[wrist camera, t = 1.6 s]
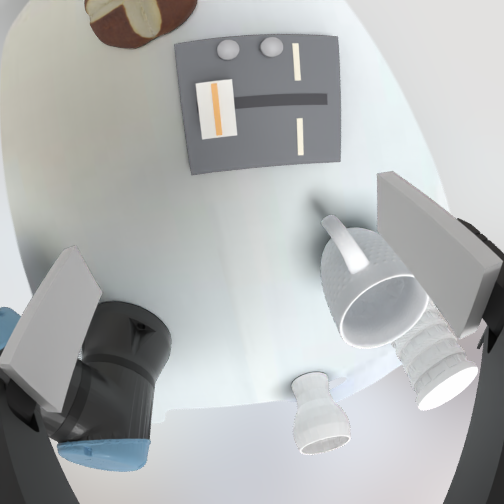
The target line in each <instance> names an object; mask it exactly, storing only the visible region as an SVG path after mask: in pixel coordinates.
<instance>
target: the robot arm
mask: <svg viewBox="0 0 504 504" xmlns="http://www.w3.org/2000/svg"><path fill="white" fill-rule="evenodd" d="M377 231H378V233H379V234H380V235H381V236H382V237H383V238H384V240H385V241H386V242H387V243H388V244H389V246H390V247H391V248H392V249H393V250H394V252H395V253H396V254H397V255H398V257H399V258H400V259H401V260H402V262H403V263H404V264H405V265H406V267H407V268H408V269H409V270H410V272H411V273H412V274H413V276H414V277H415V278H416V280H417V281H418V282H419V284H420V285H421V286H422V288H423V289H424V290H425V292H426V293H427V294H428V296H429V297H430V298H431V300H432V301H433V303H434V304H435V305H436V307H437V308H438V310H439V311H440V312H441V314H442V315H443V317H444V318H445V319H446V321H447V322H448V324H449V325H450V327H451V328H452V330H453V331H454V333H455V334H456V336H457V337H458V339H461V338H464V337H466V336H468V335H470V334H472V333H474V332H476V331H477V329H478V326H479V324H480V322H481V319H482V318H483V319H484V321H485V322H486V323H487V327H486V329H485V331H484V333H483V335H482V337H481V339H480V342H479V344H478V347H477V349H480V347H481V345H482V343H483V342H484V344H483V353H482V362H481V369H480V376H479V382H478V388H477V394H476V399H475V404H474V408H473V413H472V417H471V422H470V426H469V430H468V434H467V437H466V441H465V444H464V448H463V451H462V454H461V457H460V461H459V463H458V466H457V469H456V472H455V475H454V478H453V480H452V483H451V485H450V488H449V490H448V493H447V495H446V498H445V500H444V502H443V504H504V254H503V252H502V251H501V250H500V249H498V248H497V247H496V246H495V245H494V244H493V243H492V242H491V241H489V240H488V239H487V238H486V237H485V236H484V235H483V234H480V232H479V231H478V230H477V229H476V228H475V227H474V226H472V225H471V224H469V223H467V222H465V221H463V220H461V219H459V218H457V219H456V218H455V217H453V216H452V215H451V214H450V213H448V212H447V211H446V210H445V209H443V208H442V207H441V206H440V205H438V204H437V203H436V202H435V201H433V200H432V199H431V198H429V197H428V196H427V195H425V194H424V193H423V192H421V191H420V190H419V189H417V188H416V187H414V186H413V185H412V184H410V183H409V182H408V181H406V180H405V179H403V178H402V177H400V176H399V175H398V174H396V173H395V172H393V171H390V172H383V173H377ZM101 295H102V291H101V289H100V287H99V286H98V284H97V282H96V281H95V279H94V277H93V275H92V274H91V272H90V270H89V268H88V266H87V265H86V263H85V261H84V259H83V257H82V255H81V253H80V252H79V250H78V248H77V246H76V245H75V246H72V247H69V248H66V249H64V250H63V251H62V253H61V254H60V255H59V257H58V258H57V260H56V261H55V263H54V264H53V266H52V267H51V269H50V270H49V272H48V273H47V275H46V276H45V278H44V279H43V281H42V282H41V284H40V286H39V287H38V289H37V290H36V292H35V294H34V295H33V297H32V299H31V300H30V302H29V304H28V305H27V307H26V309H25V311H24V312H23V314H22V316H20V315H19V314H17V313H16V312H15V311H14V310H12V309H10V308H8V307H1V308H0V504H79V502H78V500H77V498H76V496H75V494H74V492H73V491H72V489H71V487H70V485H69V483H68V481H67V479H66V477H65V474H64V472H63V470H62V468H61V466H60V464H59V461H58V459H57V457H56V455H55V452H54V449H53V447H52V445H51V442H50V439H49V437H50V438H52V439H54V440H55V441H57V442H58V443H59V444H58V445H57V448H58V453H59V455H60V456H62V457H63V458H65V459H66V460H68V461H71V462H73V463H76V464H79V465H83V466H86V467H90V468H96V469H101V470H107V471H119V472H127V471H135V470H138V469H141V468H142V467H143V466H144V465H145V464H146V461H147V456H148V449H149V445H150V443H151V441H150V429H151V417H152V407H153V398H154V388H155V382H156V380H157V378H158V377H159V375H160V373H161V371H162V369H163V368H164V366H165V364H166V362H167V360H168V359H169V356H170V350H171V336H170V333H169V331H168V329H167V328H166V326H165V325H164V324H163V322H162V321H161V320H159V319H158V318H157V317H156V316H155V315H153V314H152V313H150V312H148V311H147V310H145V309H143V308H140V307H138V306H135V305H132V304H128V303H122V302H106V303H102V304H99V305H98V302H99V300H100V297H101ZM81 347H82V361H81V360H79V359H78V355H79V352H80V350H81Z"/></svg>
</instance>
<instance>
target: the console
mask: <svg viewBox="0 0 504 504" xmlns="http://www.w3.org/2000/svg"><path fill="white" fill-rule="evenodd" d="M174 46H175V55H176V65H177V73H178V82H179V90H180V98H181V106H182V114H183V121H184V128H185V136H186V142H187V149H188V156H189V162H190V169H191V175H197V174H204V173H212V172H220V171H229V170H238V169H247V168H257V167H268V166H281V165H294V164H310V163H329V162H340V159H341V89H340V63H339V45H338V36H324V35H303V34H267V35H246V36H232V37H222V38H212V39H204V40H197V41H190V42H184V43H178V44H174ZM229 79H232V84H233V95H234V106H235V116H236V127H237V135H236V136H227V137H218V138H210V139H203V140H202V133H201V126H200V117H199V109H198V101H197V92H196V83H203V82H211V81H219V80H229Z"/></svg>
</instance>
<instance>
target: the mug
mask: <svg viewBox="0 0 504 504" xmlns="http://www.w3.org/2000/svg"><path fill="white" fill-rule="evenodd" d="M321 225H322V226H323V227H324V228H325V230H326V231H327V232H328V234H329V235H330V236H331V239H330V240H329V241H328V243H327V244H326V246H325V248H324V251H323V253H322V258H321V265H320V266H321V270H320V271H321V280H322V286H323V292H324V294H325V299H326V301H327V304H328V307H329V309H330V313H331V315H332V316H333V320H334V322H335V324H336V326H337V328H338V331H339V333H340V335H341V337H342V339H343V340H344V341H345V342H346V343H347V344H349V345H351V346H353V347H356V348H361V349H368V348H375V347H380V346H383V345H386V344H388V343H390V342H392V341H394V340H396V339H398V338H399V337H401V336H402V335H404V334H405V333H406V332H408V331H409V330H410V329H411V328H412V327H413V326H414V325H415V324H416V323H417V322H418V320H419V319H420V318H421V317H422V315H423V313H424V312H425V310H426V307H427V305H428V301H429V296H428V294H427V293H426V292H425V290H424V289H423V288H422V286H421V285H420V284H419V282H418V281H417V280H416V278H415V277H414V276H413V274H412V273H411V272H410V270H409V269H408V268H407V267H406V265H405V264H404V263H403V262H402V260H401V259H400V258H399V257H398V255H397V254H396V253H395V252H394V250H393V249H392V248H391V247H390V246H389V244H388V243H387V242H386V241H385V240H384V238H383V237H382V236H381V235H379V234H378V233H376V232H374V231H372V230H368V229H364V228H356V227H355V228H347V229H346V227H345V226H344V225H343V223H342V222H341V221H340V220H339V219H338V218H337V217H336V216H335V215H329V216H327V217H325V218H324V219H323V220H322V221H321Z"/></svg>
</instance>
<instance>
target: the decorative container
mask: <svg viewBox="0 0 504 504" xmlns="http://www.w3.org/2000/svg"><path fill="white" fill-rule="evenodd" d="M433 304H434V303H433V301H432V300H431V298H430V297H429V301H428V305H427V307H426V310H425V312H424V313H423V315H422V317H421V318H420V319H419V320H418V322H417V323H416V324H415V325H414V326H413V327H412V328H411V329H410V330H409V331H408V332H406V333H405V334H404V335H402V336H401V337H399V338H398V339H396V340H394V341H392V342H390V343H391V345H392V346H393V347H394V348H395V349H396V355H397V357H398V359H399V360H400V361H401V362H402V363H403V369H404V372H405V374H407V376H409V378H410V383H411V387H412V389H414V391H415V392H416V393H417V395H418V396H417V397H416V403H417V406H418V408H419V409H420V410H429V409H433V408H435V407H438V406H440V405H442V404H444V403H446V402H447V401H449V400H450V399H452V398H454V397H455V396H456V395H458V394H459V393H460V392H461V391H463V390H464V389H465V388H466V387H467V386H468V385H469V384H470V383H471V382H472V381H473V379H474V378H475V377H476V375H477V373H478V368H477V366H476V364H475V363H474V362H473V361H471V360H467V358H466V353H465V351H464V349H463V348H461V346H459V345H458V344H457V339H456V337H455V335H454V334H453V333H452V332H450V331H449V330H448V325H447V323H446V321H445V320H443V319H442V318H440V315H439V312H438V310H437V308H436V307H434V306H433Z"/></svg>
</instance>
